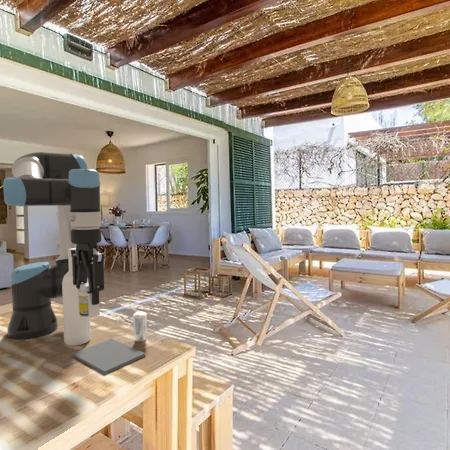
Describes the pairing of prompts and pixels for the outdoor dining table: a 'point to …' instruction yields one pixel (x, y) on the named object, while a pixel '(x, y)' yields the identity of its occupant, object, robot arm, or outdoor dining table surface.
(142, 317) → the milkshake
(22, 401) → the outdoor dining table surface
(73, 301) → the bottle
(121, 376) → the outdoor dining table surface
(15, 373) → the outdoor dining table surface
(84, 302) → the supplement bottle
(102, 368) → the slate mat
